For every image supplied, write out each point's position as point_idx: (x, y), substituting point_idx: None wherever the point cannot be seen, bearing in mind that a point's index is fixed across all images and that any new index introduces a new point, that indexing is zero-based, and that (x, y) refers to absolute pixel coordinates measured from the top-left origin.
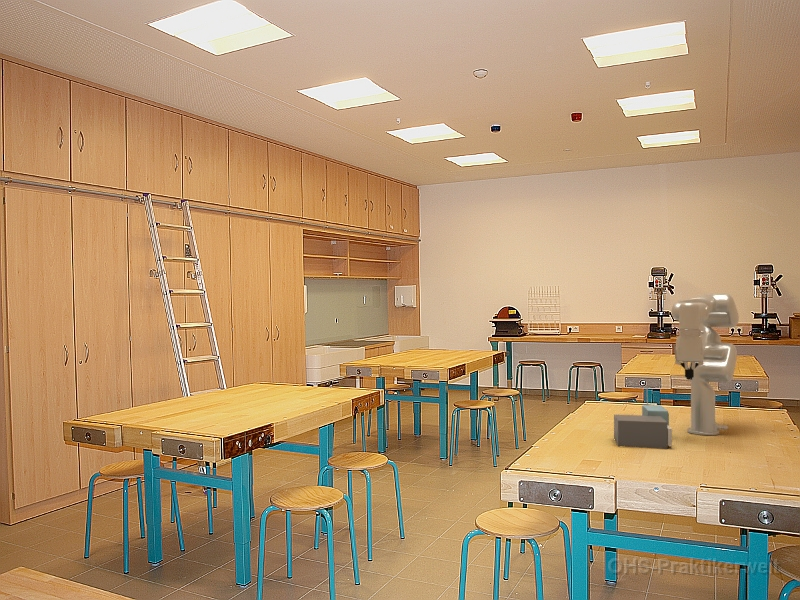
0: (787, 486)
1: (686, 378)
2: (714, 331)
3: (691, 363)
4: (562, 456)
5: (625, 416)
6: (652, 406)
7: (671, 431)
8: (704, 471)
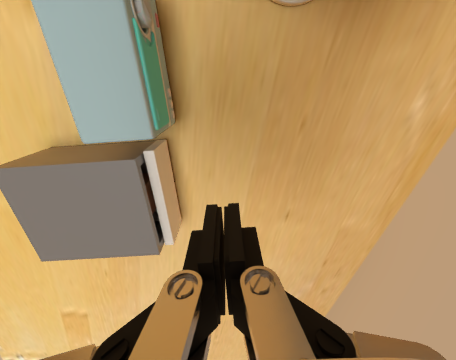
0: None
1: (207, 209)
2: None
3: (263, 355)
4: (27, 305)
5: (36, 197)
6: (75, 13)
7: (174, 240)
8: (218, 328)
